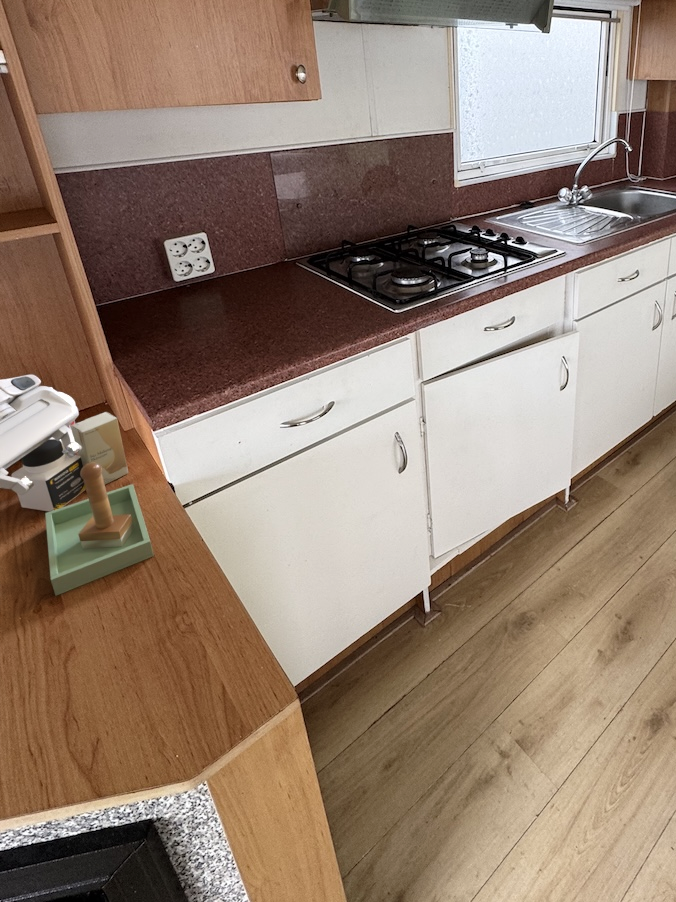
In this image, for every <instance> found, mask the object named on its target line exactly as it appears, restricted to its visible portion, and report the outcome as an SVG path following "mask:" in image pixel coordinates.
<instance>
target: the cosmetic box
mask: <svg viewBox="0 0 676 902" xmlns="http://www.w3.org/2000/svg"><path fill="white" fill-rule="evenodd" d="M119 425H120V424H119V421H118V417H117V416H115V415H113V414H111V413H110V412H108V411H104V412H102V413H99V414H96V415H94V416H91V417H88V418H85V419H84V420H81V421H78V422H75V424H73V425H71V430H72V434H73V437H74V441H75V442H76V443H78V444H79V445H80V446H81V447H82V449H81V450H80V452H79V453H77V455H79V456H80V457H81V460H82V464H83V466H85V465H86V464H88V463H92V462H94V463H98V464H99V465H101V467H102V476H103V480H104V484H105V485H108V484H109V483H111V482H113V481H116V480H117V479H120V478H121V477H124V476H125V475H128V474H129V469H128V464H127V459H126V454H125V449H124V445H123V439H122V435H121V431H120V426H119Z"/></svg>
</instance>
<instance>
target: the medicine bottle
mask: <svg viewBox="0 0 676 902" xmlns="http://www.w3.org/2000/svg"><path fill="white" fill-rule="evenodd" d="M64 449H65V447H64V445H63V443H62V441H61V439H60V440H59V441H57V440H55V439H54V438H53V437H52V438H50V439H49V440H47V441H46V442H44V443H43V444H41V445H40V446H38V447H37V448H36V449H34V450H33V451H31V452H30V453H28V454H27V455H25V456H24V457H22V458H21V459H20V460H21V463H22V467H19V468H18V469H17V470H16V471H13V472H12V473H11V475H10V477H14V478H18V479H20V480H21V479H22V478H24V477H25V476H26V477H27V478H28V479H29V481H32V482H33V483H34V486H33V487H32V488H31V489H30V490H29V491H27V492H26V493H25V494H23V495H19V494H17V493H16V494H17V497H18V501H19V503H20V507H21V508H22V509H23V508H24V509H30V510H37V511H41V512H42V511H43V512H50V511H53V510H56V509H59V508H62V507H65V506H67V505H69V503H70V502H72V501H73V500H75V499H76V498H77V497H78V496H79V495H81V494H82V493H83V492H86V487H85V484H84V480H83V479H82V478H81V475H80V471H81V469H82V468H83V464H82V460H81V457H80V456H79V455H75V456H73V457H72V458H69V457H68V456H67V455H65V454H64V453H63V452H62V451H63V450H64Z"/></svg>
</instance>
